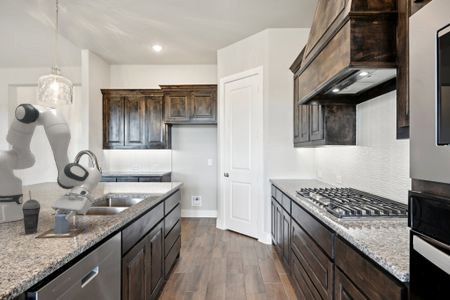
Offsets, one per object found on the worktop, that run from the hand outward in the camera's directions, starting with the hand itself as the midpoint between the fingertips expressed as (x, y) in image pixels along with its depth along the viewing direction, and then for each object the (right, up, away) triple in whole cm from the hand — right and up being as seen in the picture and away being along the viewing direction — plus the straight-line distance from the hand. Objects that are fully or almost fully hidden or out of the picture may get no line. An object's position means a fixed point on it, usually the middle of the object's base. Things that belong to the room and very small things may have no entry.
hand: (60, 219), depth 129 cm
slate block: (0, -6, +1) cm, 6 cm away
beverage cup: (-15, -7, +2) cm, 17 cm away
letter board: (0, -7, +1) cm, 7 cm away
